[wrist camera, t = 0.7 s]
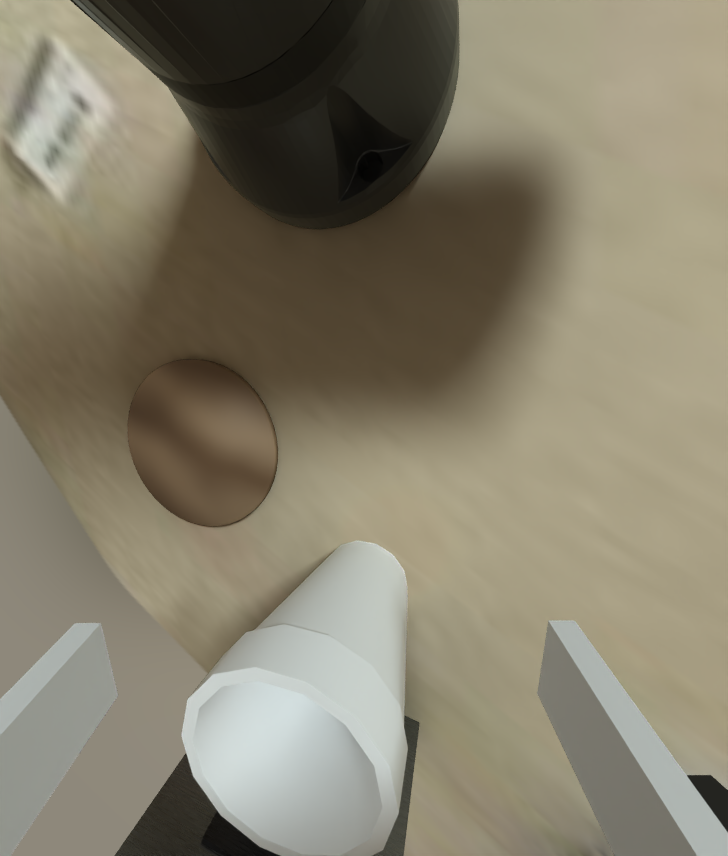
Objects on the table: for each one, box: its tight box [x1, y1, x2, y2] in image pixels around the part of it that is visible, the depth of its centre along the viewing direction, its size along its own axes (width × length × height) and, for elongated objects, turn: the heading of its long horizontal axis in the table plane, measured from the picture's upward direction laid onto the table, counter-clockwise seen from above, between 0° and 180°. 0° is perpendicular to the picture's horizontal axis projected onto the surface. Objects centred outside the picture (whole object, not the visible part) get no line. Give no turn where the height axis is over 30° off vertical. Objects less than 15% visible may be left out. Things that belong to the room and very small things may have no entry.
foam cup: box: [181, 541, 408, 856], centre depth 21 cm, size 10×9×13 cm
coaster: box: [128, 359, 278, 526], centre depth 28 cm, size 13×13×1 cm
